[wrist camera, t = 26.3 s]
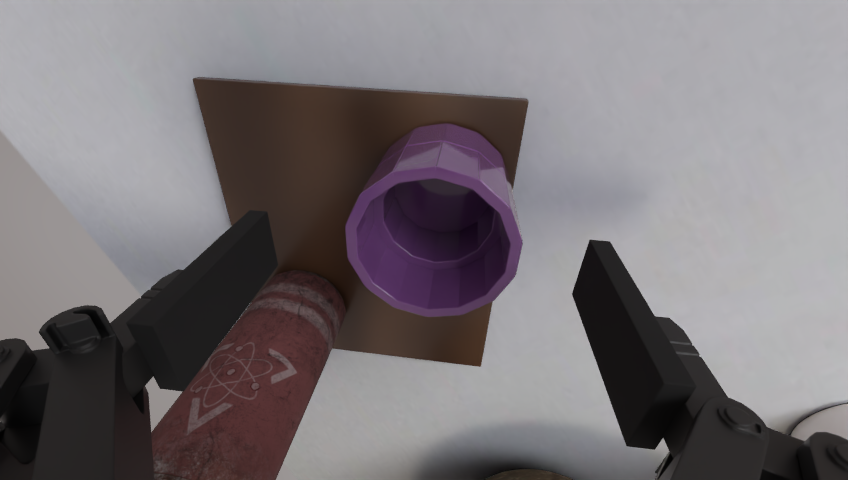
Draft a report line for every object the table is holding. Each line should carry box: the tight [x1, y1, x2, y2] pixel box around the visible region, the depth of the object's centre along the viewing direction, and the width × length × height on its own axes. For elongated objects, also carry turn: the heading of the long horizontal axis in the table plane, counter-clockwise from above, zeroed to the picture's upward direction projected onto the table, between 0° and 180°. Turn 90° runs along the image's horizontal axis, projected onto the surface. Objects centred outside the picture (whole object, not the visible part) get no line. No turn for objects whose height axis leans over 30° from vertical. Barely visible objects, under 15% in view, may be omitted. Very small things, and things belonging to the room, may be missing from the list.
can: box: [151, 270, 346, 480], centre depth 22 cm, size 6×6×14 cm
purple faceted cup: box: [345, 123, 523, 317], centre depth 19 cm, size 7×8×7 cm
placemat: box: [193, 77, 528, 367], centre depth 25 cm, size 18×20×1 cm
